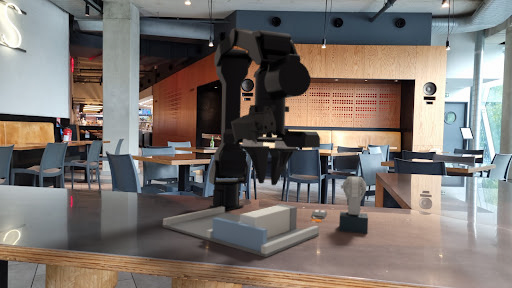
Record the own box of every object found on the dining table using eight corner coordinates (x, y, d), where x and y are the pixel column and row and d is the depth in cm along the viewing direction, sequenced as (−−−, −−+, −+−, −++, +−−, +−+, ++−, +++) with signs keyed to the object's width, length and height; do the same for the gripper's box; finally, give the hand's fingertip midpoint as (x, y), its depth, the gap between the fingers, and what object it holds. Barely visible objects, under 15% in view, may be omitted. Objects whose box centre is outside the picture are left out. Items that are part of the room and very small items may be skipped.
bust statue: (366, 225, 81) (368, 175, 81) (367, 235, 73) (370, 179, 73) (339, 223, 83) (341, 173, 82) (338, 233, 75) (340, 178, 74)
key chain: (312, 214, 93) (312, 208, 93) (327, 215, 92) (327, 209, 92) (305, 227, 81) (305, 220, 80) (322, 229, 80) (323, 222, 80)
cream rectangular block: (279, 225, 78) (280, 204, 78) (296, 228, 75) (296, 206, 75) (238, 238, 68) (239, 214, 68) (255, 243, 65) (256, 217, 65)
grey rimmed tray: (221, 213, 89) (221, 196, 89) (318, 235, 73) (319, 214, 73) (162, 226, 76) (163, 207, 76) (265, 257, 60) (266, 232, 59)
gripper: (203, 98, 69) (201, 182, 70) (287, 94, 58) (284, 196, 58) (242, 102, 78) (240, 177, 79) (322, 100, 66) (319, 188, 67)
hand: (267, 184), depth 70 cm, fingers open, 3 cm apart
